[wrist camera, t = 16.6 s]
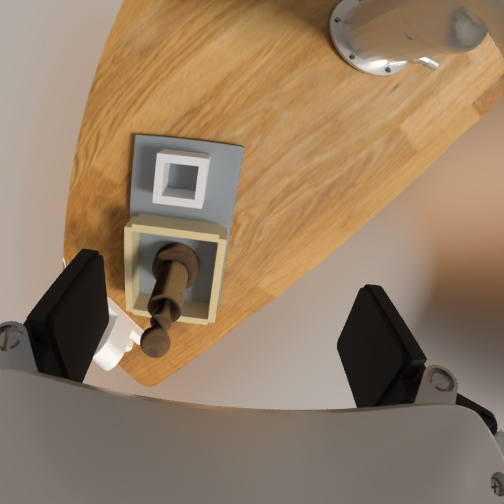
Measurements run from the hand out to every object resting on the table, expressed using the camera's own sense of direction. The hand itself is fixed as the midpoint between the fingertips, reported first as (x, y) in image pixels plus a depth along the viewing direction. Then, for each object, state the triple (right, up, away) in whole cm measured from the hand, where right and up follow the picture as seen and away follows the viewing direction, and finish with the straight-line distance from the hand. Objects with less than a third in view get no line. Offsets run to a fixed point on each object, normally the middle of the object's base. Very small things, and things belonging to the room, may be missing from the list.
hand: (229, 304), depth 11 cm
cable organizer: (-22, -10, +38) cm, 45 cm away
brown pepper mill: (-10, 0, +33) cm, 34 cm away
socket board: (-9, +6, +31) cm, 33 cm away
